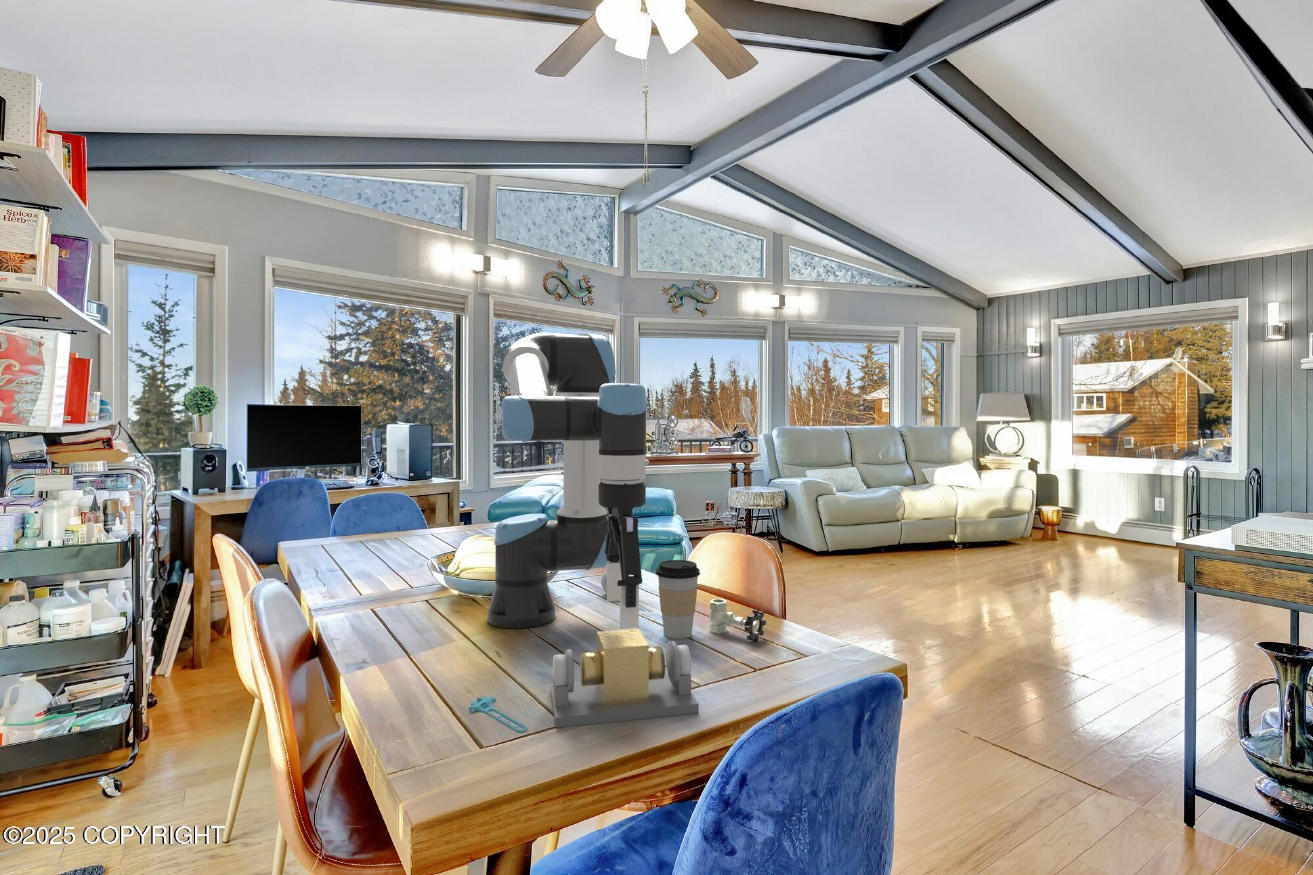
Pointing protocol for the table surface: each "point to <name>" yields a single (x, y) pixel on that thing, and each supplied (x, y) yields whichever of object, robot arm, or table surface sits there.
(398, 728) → the table surface
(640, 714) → the pipe run plate
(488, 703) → the adjustable wrench
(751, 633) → the valve
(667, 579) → the coffee cup
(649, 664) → the brass gate valve
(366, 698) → the table surface
